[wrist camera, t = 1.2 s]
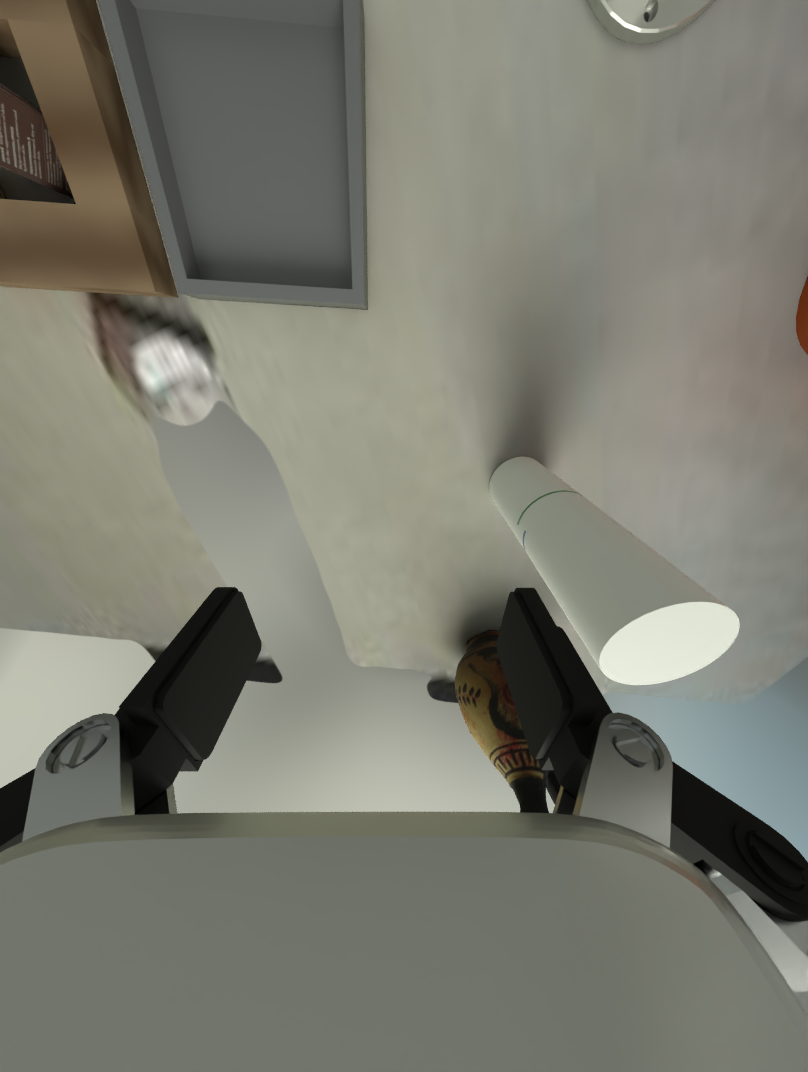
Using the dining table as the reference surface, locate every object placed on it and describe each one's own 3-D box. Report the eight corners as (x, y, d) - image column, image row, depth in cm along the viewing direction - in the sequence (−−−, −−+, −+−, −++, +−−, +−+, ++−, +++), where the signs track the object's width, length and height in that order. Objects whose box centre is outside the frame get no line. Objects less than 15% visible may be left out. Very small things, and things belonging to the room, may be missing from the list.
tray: (122, -8, 19) (80, -64, 17) (364, 15, 20) (358, -36, 17) (199, 299, 28) (178, 293, 25) (367, 309, 28) (364, 304, 26)
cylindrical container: (488, 511, 40) (588, 689, 18) (489, 460, 36) (615, 609, 15) (541, 505, 39) (707, 679, 18) (548, 452, 36) (766, 594, 14)
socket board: (-196, -97, 18) (-296, -174, 15) (75, -70, 18) (22, -139, 16) (2, 286, 27) (-39, 279, 25) (178, 297, 28) (155, 291, 25)
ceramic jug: (436, 664, 57) (464, 910, 32) (470, 611, 50) (542, 879, 24) (512, 680, 60) (593, 917, 35) (555, 632, 53) (699, 890, 27)
